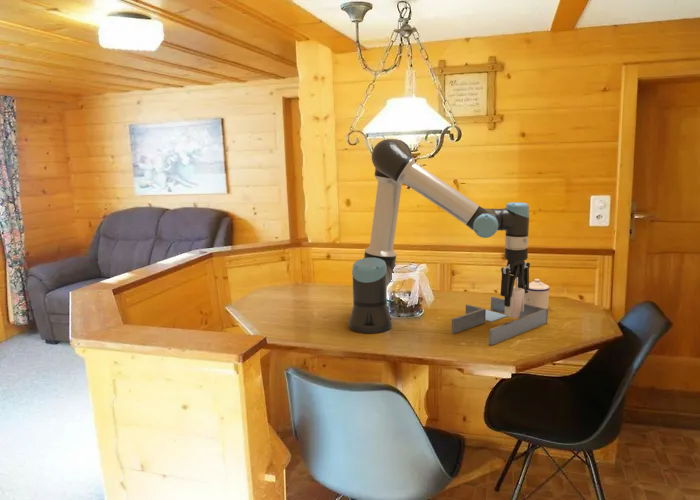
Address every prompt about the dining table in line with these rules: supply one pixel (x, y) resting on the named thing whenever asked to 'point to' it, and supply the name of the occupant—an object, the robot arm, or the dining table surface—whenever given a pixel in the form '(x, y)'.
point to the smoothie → (517, 300)
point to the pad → (493, 316)
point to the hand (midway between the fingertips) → (514, 312)
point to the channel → (528, 321)
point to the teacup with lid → (537, 294)
